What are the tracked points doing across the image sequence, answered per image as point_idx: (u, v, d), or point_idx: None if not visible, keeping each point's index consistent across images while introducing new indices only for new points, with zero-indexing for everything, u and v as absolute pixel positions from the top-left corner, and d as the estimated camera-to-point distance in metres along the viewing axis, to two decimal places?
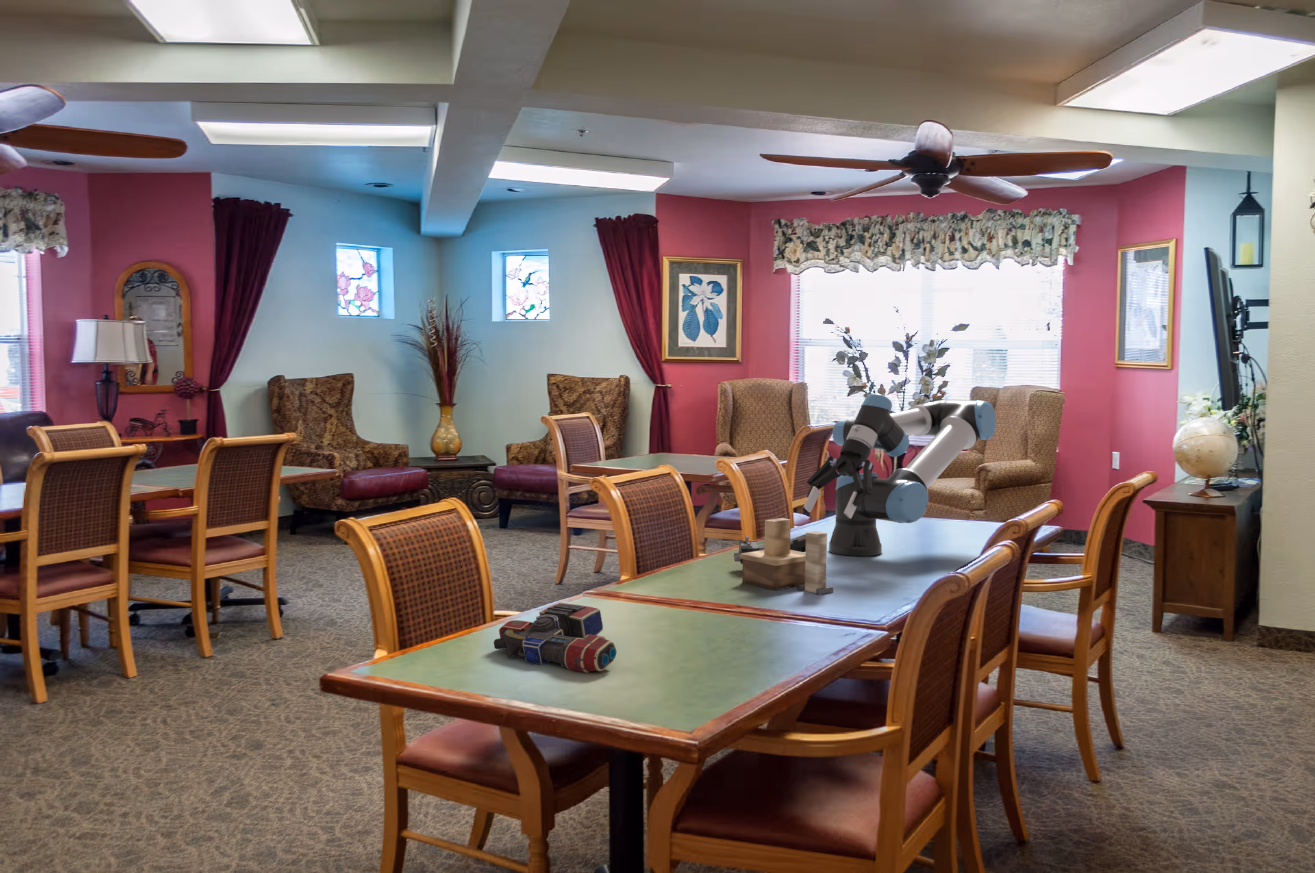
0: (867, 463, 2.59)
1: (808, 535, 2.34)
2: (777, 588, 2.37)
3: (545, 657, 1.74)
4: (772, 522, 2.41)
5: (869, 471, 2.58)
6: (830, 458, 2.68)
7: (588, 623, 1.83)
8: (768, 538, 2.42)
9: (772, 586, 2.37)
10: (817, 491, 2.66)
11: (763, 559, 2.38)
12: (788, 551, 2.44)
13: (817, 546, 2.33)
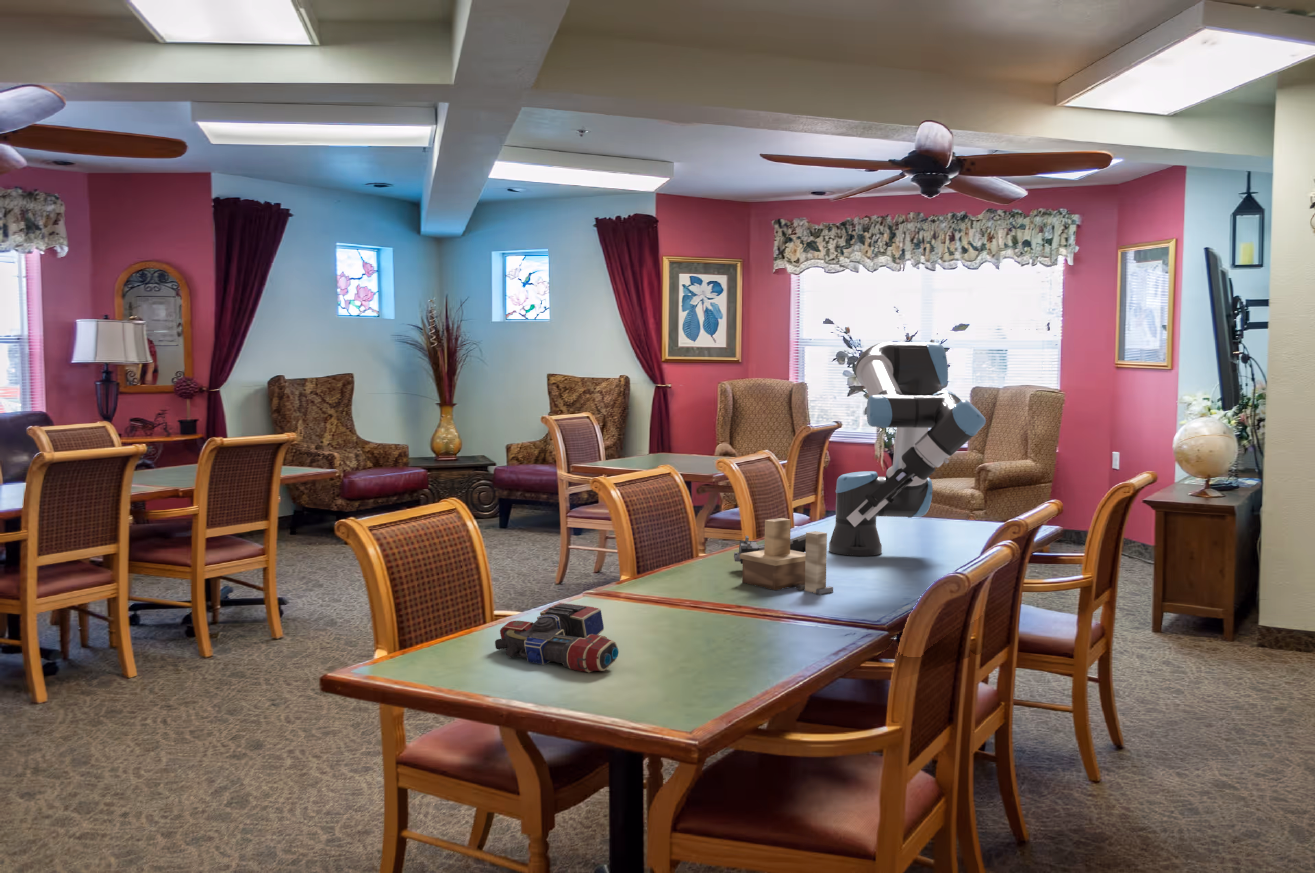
0: (914, 476, 2.31)
1: (808, 535, 2.34)
2: (777, 588, 2.37)
3: (547, 657, 1.73)
4: (772, 522, 2.41)
5: None
6: (905, 479, 2.20)
7: (589, 623, 1.83)
8: (768, 538, 2.42)
9: (772, 586, 2.37)
10: None
11: (763, 559, 2.38)
12: (788, 551, 2.44)
13: (817, 546, 2.33)
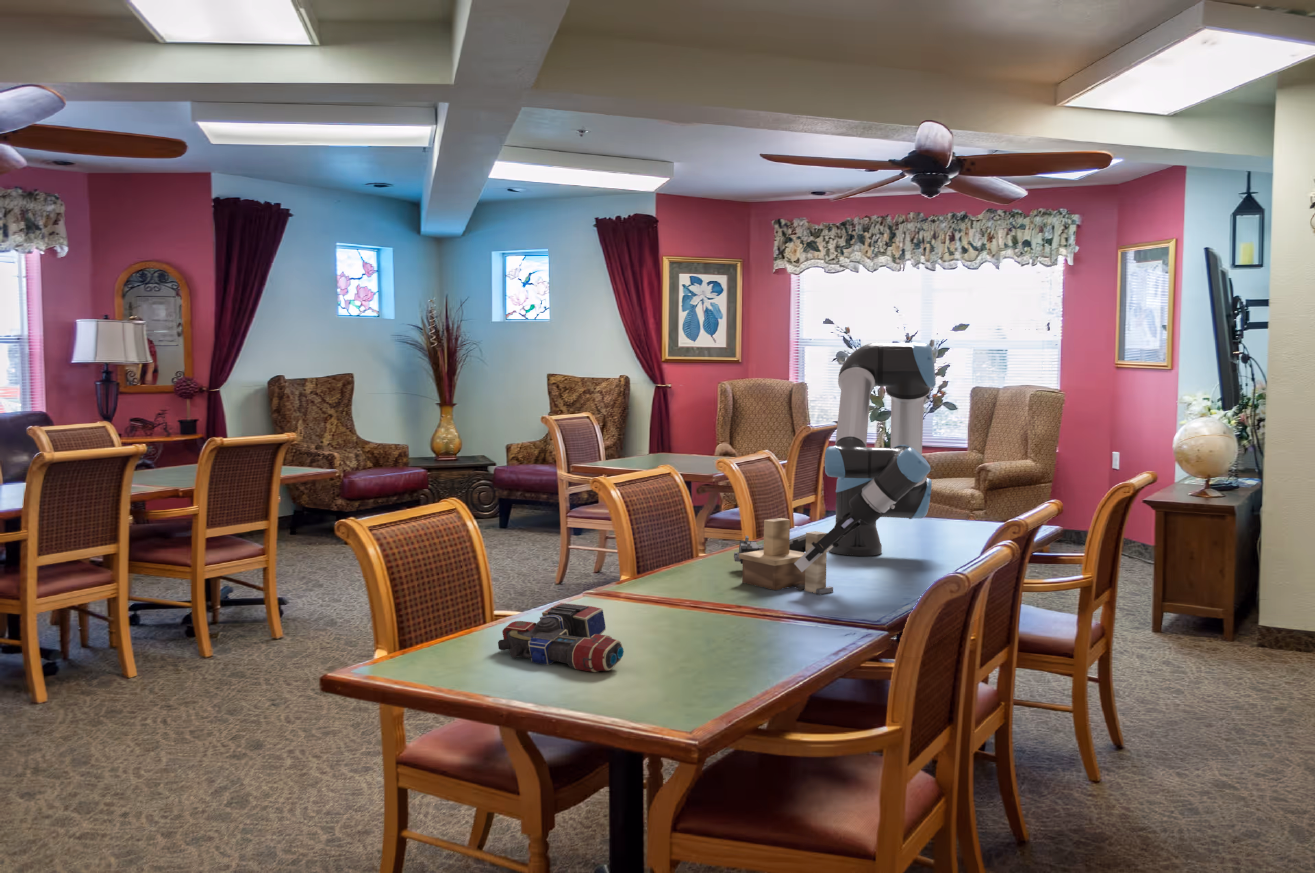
0: (860, 520, 2.37)
1: (808, 535, 2.34)
2: (777, 588, 2.37)
3: (552, 657, 1.73)
4: (771, 522, 2.41)
5: None
6: None
7: (592, 623, 1.83)
8: (767, 538, 2.42)
9: (772, 586, 2.37)
10: None
11: (762, 559, 2.38)
12: (787, 551, 2.44)
13: None
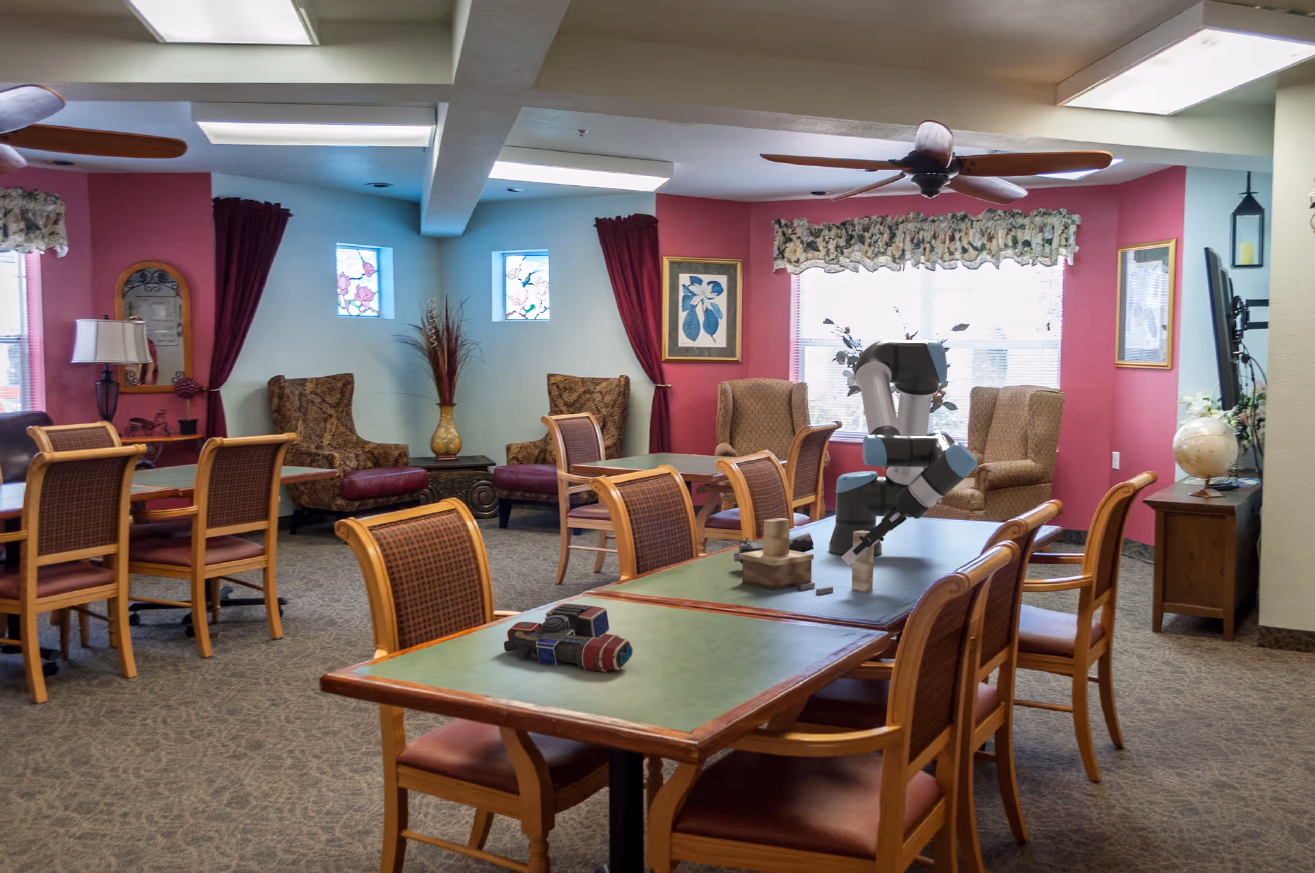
0: (906, 515, 2.39)
1: (855, 534, 2.36)
2: (777, 588, 2.37)
3: (560, 657, 1.73)
4: (771, 522, 2.41)
5: None
6: None
7: (597, 623, 1.84)
8: (767, 538, 2.42)
9: (772, 586, 2.37)
10: None
11: (762, 559, 2.38)
12: (787, 551, 2.44)
13: None
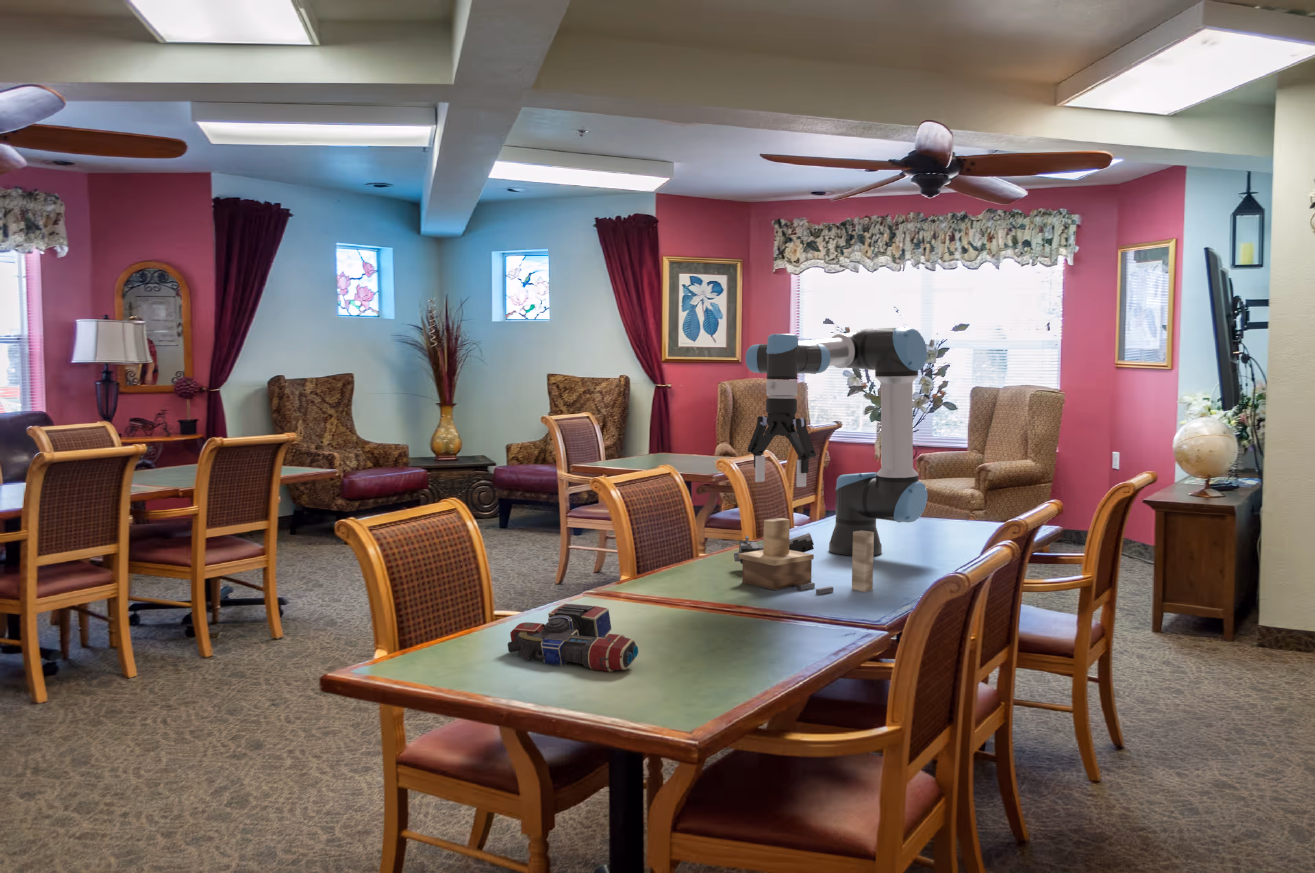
0: (798, 423, 2.36)
1: (855, 534, 2.36)
2: (777, 588, 2.37)
3: (566, 658, 1.73)
4: (771, 522, 2.41)
5: (803, 430, 2.36)
6: (759, 419, 2.45)
7: (600, 623, 1.84)
8: (767, 538, 2.42)
9: (772, 586, 2.37)
10: (761, 458, 2.47)
11: (762, 559, 2.38)
12: (787, 551, 2.44)
13: (865, 545, 2.34)
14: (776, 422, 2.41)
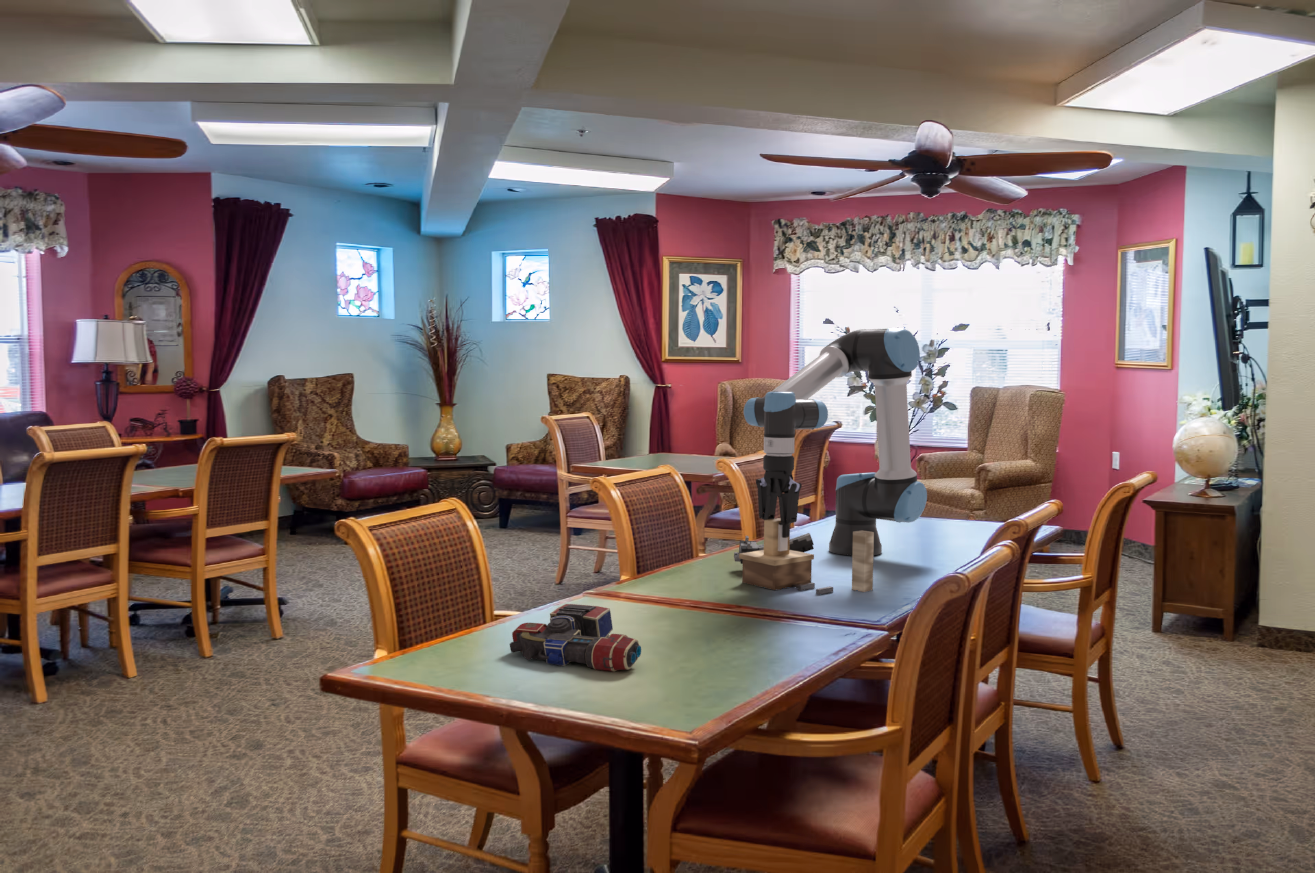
0: (793, 488, 2.38)
1: (855, 534, 2.36)
2: (777, 588, 2.37)
3: (569, 658, 1.73)
4: (771, 522, 2.41)
5: (795, 495, 2.39)
6: (758, 481, 2.46)
7: (602, 623, 1.84)
8: (767, 538, 2.42)
9: (772, 586, 2.37)
10: None
11: (762, 559, 2.38)
12: (787, 551, 2.44)
13: (865, 545, 2.34)
14: (772, 477, 2.43)
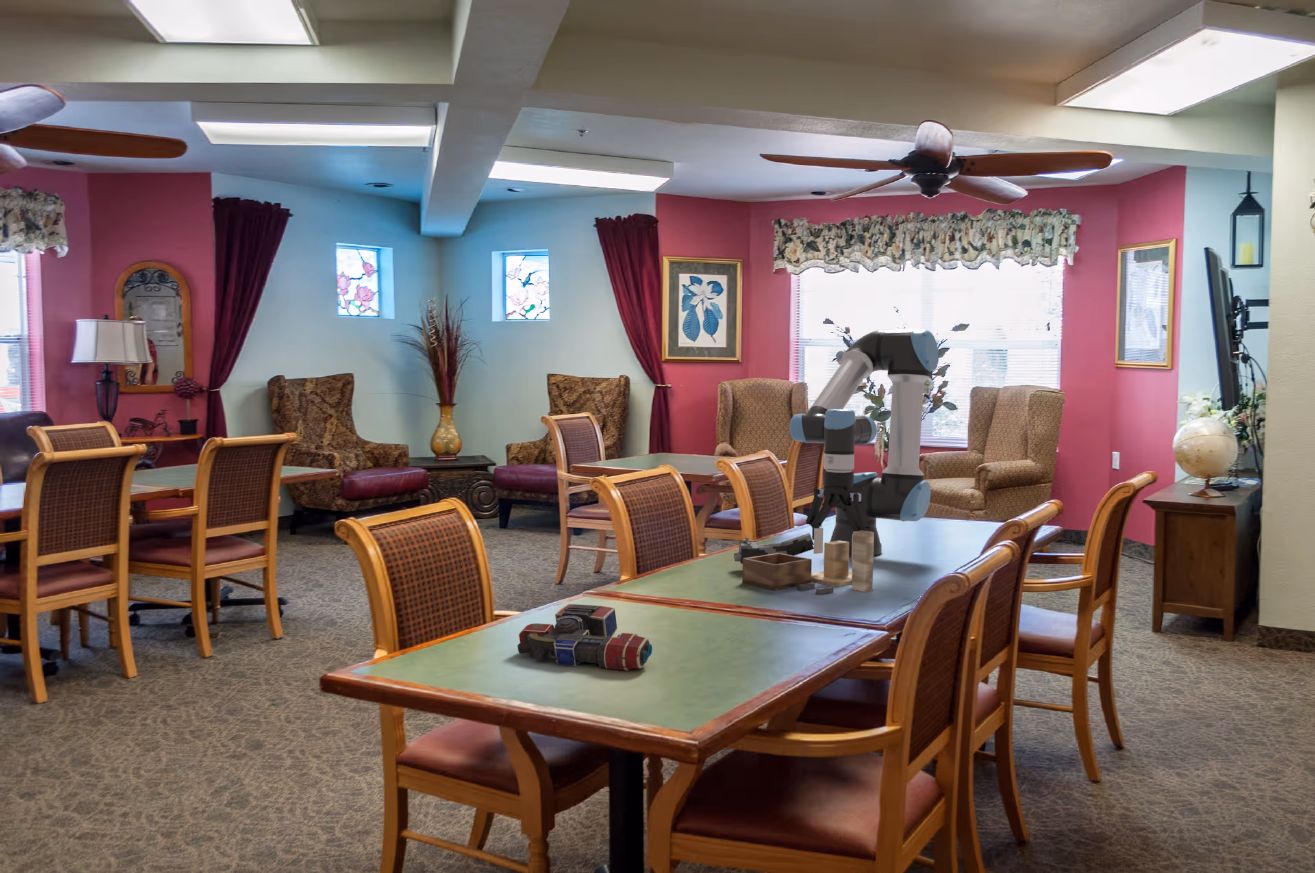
0: (855, 498, 2.43)
1: (855, 534, 2.36)
2: (777, 588, 2.37)
3: (580, 658, 1.73)
4: (832, 545, 2.47)
5: (860, 505, 2.43)
6: (816, 491, 2.52)
7: (608, 623, 1.84)
8: (827, 561, 2.48)
9: (772, 586, 2.37)
10: (820, 530, 2.54)
11: (824, 581, 2.44)
12: (847, 573, 2.50)
13: (865, 545, 2.34)
14: (833, 494, 2.48)
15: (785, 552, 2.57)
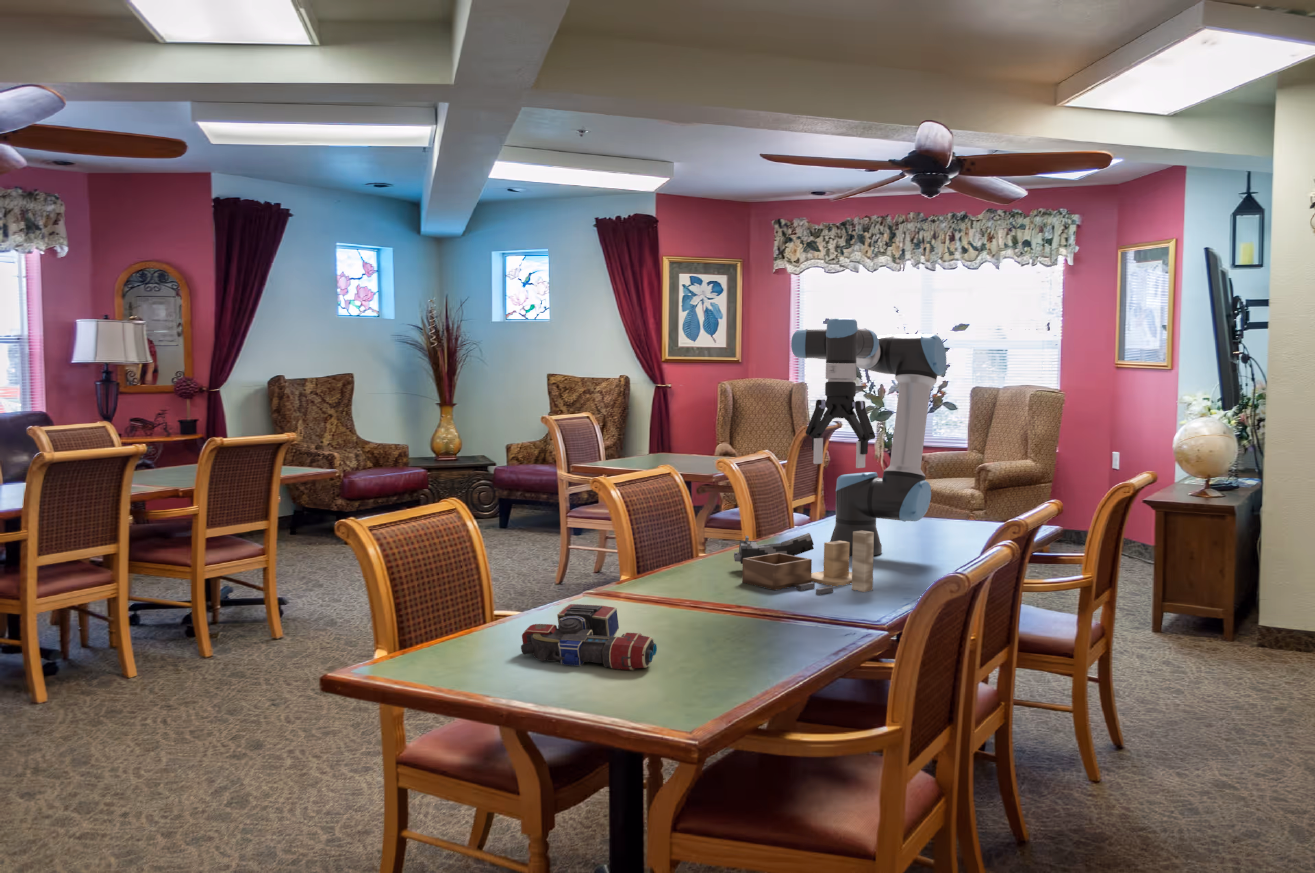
0: (858, 405, 2.41)
1: (855, 534, 2.36)
2: (777, 588, 2.37)
3: (584, 658, 1.73)
4: (831, 545, 2.47)
5: (863, 412, 2.42)
6: (818, 402, 2.51)
7: (610, 622, 1.84)
8: (827, 561, 2.48)
9: (772, 586, 2.37)
10: (820, 440, 2.53)
11: (822, 581, 2.44)
12: (847, 573, 2.50)
13: (865, 545, 2.34)
14: (835, 405, 2.47)
15: (785, 552, 2.57)
